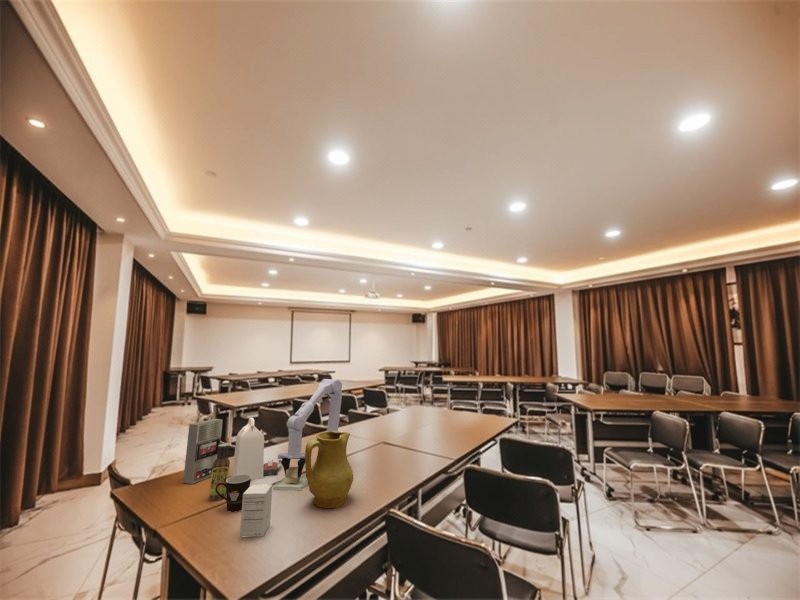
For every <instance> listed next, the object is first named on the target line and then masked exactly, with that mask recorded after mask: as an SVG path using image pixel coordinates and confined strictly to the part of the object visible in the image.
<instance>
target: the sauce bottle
mask: <svg viewBox="0 0 800 600" xmlns="http://www.w3.org/2000/svg"><path fill="white" fill-rule="evenodd" d="M229 449H230V444H229V443H221V444H220V445H218V455H217V458H216V460H215V461H214V463H213V469H212V474H211V477H210V483H209V489H208V490H209V491H208V495H209V496H208V499H209V500H210V501H219V500H224V499H223V498H222V497H220V496H219V495H218V494H217V493H216V491H215V488H216V486H217V485H218V484H220V483H225V484H226V480H227V479H228V478H229V473H230V464H231V463H230V459H229V457H228V456H229V455H228V454H229ZM217 491H218V492H219V494H221V495H222V496H224V497H225V498H226V487H225V486H224V485H219V486H218V487H217Z"/></svg>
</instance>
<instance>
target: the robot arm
mask: <svg viewBox="0 0 800 600" xmlns="http://www.w3.org/2000/svg"><path fill="white" fill-rule="evenodd" d="M342 389H343V383H342V381H340V379H332V378H331V379H330V378H323V379H322V380H321V381H320V383H319V384H318V388H317V389H316V390H315V392H314V393H313V394H312V396H310V399H309V400H308V401H307V402H306V401H305V402H303V403H302V404H301V405H300V407H299V409H298V410H297V411H296V412H295V413H294V415H291V416H290V417H289V418H288V419H287V421H286V427H287V428H288V430H287V431H288V443H287V452H285V453H284V452H282V453H281V452H280V453H278V454H277V460H281V464H282V468H283V471H284V477H286V470H287V469H288V468H290V467H291V460H297V461H296V462H297V467H298V478H299V477H300V476H301V477H302V473H303V470H304V468H305V452H302V443H303V442H302V441H303V429H304V427H306V423H307V419H308V418H309V417H310V415H312V413H313V412H314V410H315V405H316V404H317V403H318V402H319V401H320V400H321V399H322V398H323V397H324V395H328V396H329V398H330V402H329V403H330V404H329V410H328V420H327V427H326V431H333V432H340V431H339V423H340V417H341V416H340V415H341V406H342V397H343V392H342Z"/></svg>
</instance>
